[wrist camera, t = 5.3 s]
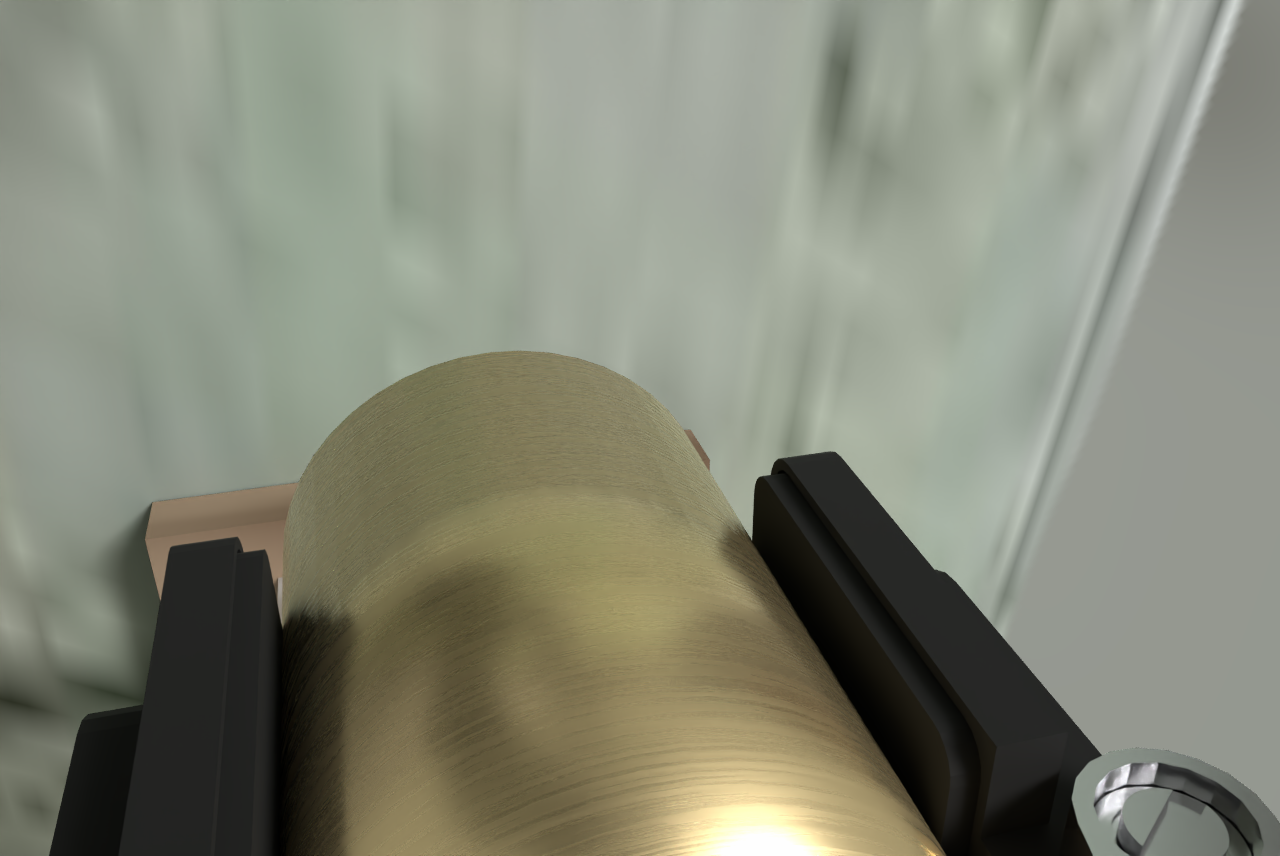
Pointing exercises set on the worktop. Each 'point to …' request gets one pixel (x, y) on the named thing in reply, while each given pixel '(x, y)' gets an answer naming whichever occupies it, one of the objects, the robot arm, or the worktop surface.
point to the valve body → (552, 641)
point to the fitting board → (237, 523)
